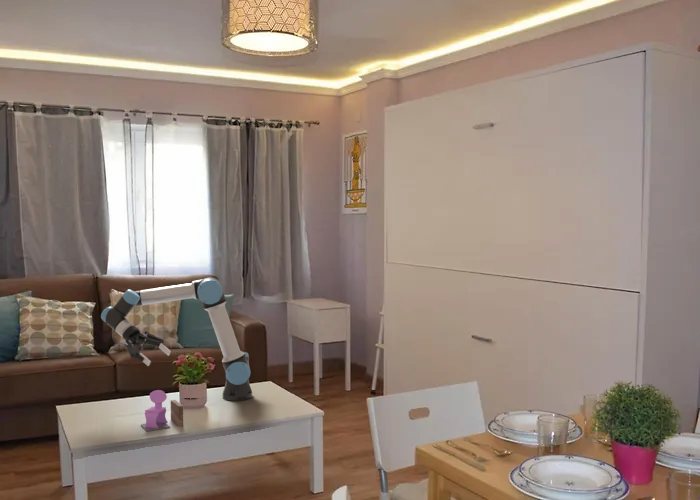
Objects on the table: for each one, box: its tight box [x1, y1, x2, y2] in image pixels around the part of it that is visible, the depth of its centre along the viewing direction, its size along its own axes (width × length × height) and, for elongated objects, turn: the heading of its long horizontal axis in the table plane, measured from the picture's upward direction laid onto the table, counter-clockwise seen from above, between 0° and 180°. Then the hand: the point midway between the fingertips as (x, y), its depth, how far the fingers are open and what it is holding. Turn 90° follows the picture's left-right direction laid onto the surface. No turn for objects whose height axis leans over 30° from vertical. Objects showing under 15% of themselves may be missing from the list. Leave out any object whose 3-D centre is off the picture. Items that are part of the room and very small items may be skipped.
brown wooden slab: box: [170, 399, 184, 427], centre depth 297 cm, size 2×12×9 cm, turn 32°
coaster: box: [140, 422, 171, 432], centre depth 292 cm, size 10×10×1 cm
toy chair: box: [144, 389, 168, 428], centre depth 291 cm, size 8×9×15 cm
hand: (159, 358), depth 308 cm, fingers open, 13 cm apart
